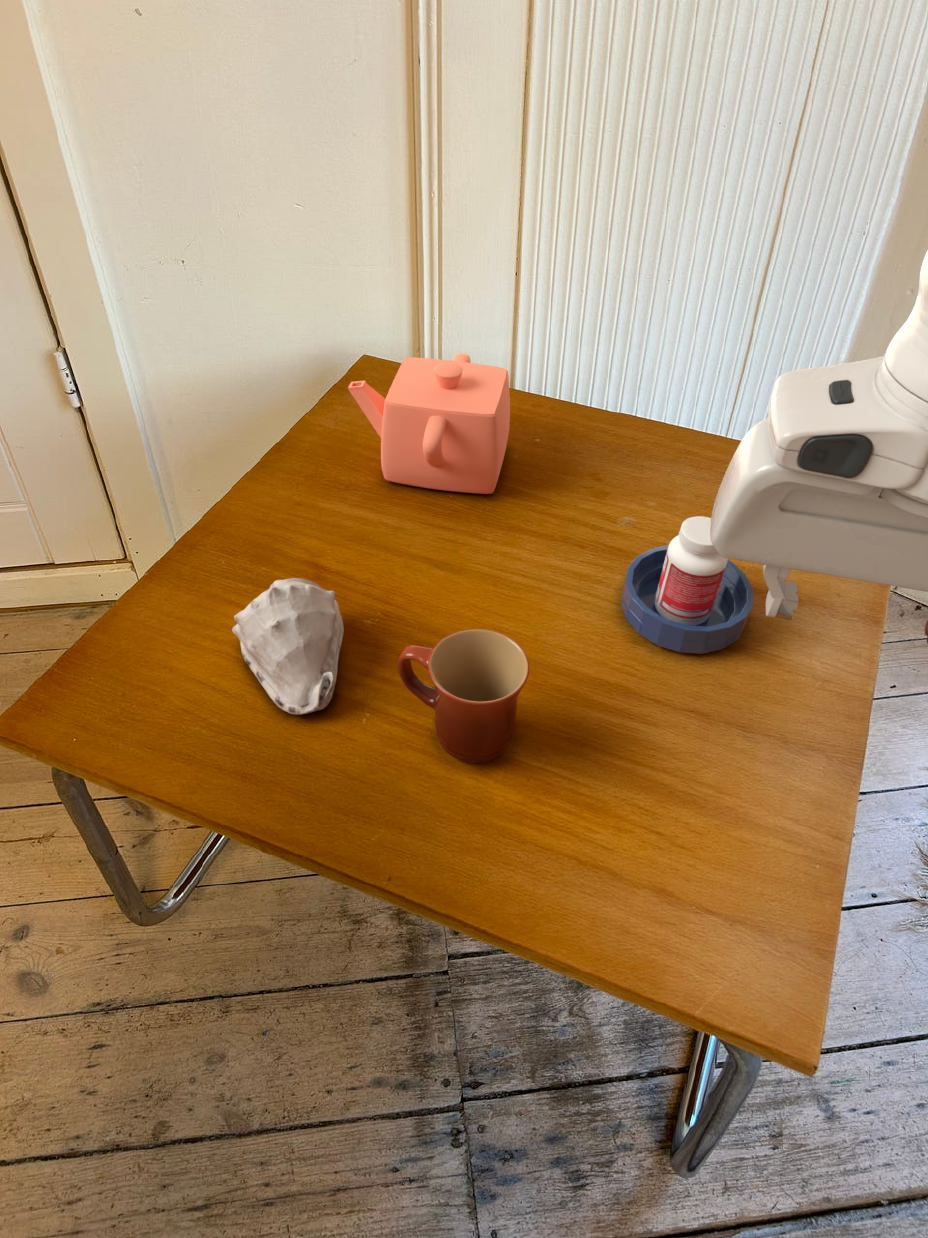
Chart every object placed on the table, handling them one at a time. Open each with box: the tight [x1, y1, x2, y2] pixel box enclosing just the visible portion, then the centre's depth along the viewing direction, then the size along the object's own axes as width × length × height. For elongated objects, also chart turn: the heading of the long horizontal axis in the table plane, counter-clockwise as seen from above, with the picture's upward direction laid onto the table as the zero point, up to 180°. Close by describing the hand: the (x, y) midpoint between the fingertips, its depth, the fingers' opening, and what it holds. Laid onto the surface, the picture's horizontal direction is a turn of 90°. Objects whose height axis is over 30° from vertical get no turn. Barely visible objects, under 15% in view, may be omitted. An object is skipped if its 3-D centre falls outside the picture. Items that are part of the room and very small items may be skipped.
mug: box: [397, 628, 530, 764], centre depth 78 cm, size 12×9×10 cm
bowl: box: [620, 544, 754, 654], centre depth 93 cm, size 13×14×4 cm
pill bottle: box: [655, 515, 729, 626], centre depth 90 cm, size 6×6×11 cm
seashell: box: [231, 577, 345, 715], centre depth 84 cm, size 12×14×10 cm
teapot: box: [347, 352, 511, 495], centre depth 108 cm, size 20×22×14 cm
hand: (856, 625), depth 52 cm, fingers open, 8 cm apart
